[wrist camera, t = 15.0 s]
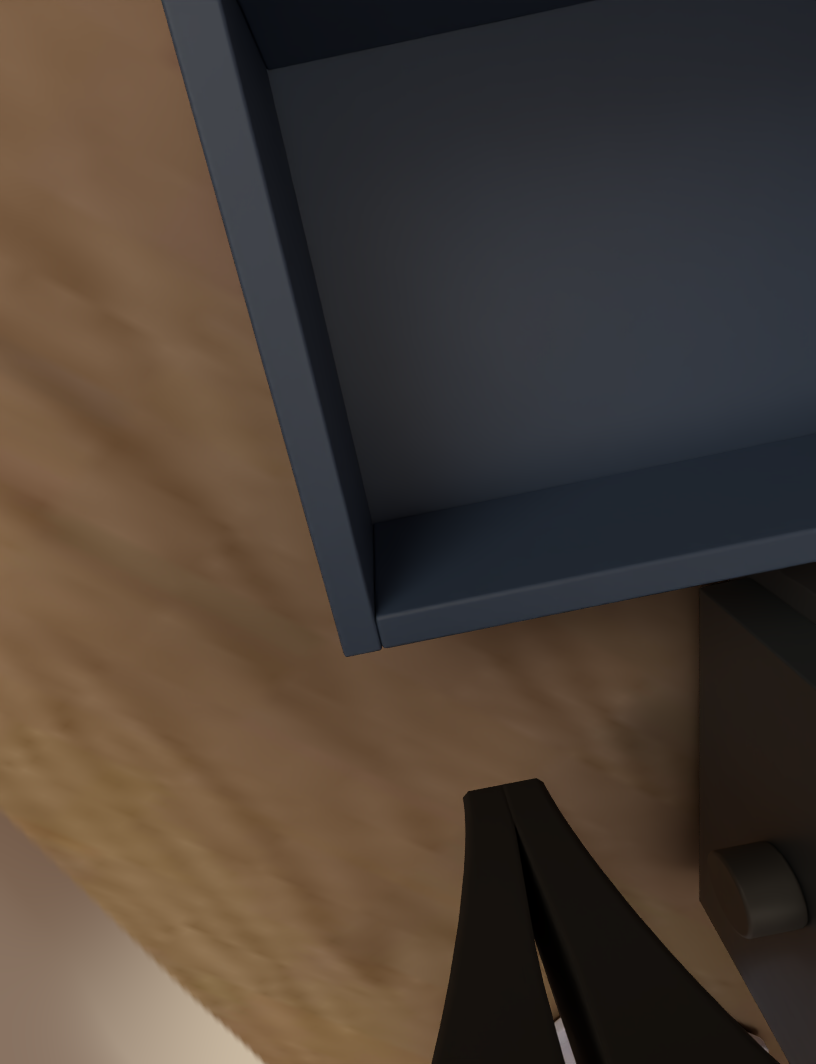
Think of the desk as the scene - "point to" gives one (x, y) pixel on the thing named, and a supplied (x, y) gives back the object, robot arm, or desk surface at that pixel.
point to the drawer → (760, 799)
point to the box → (523, 290)
